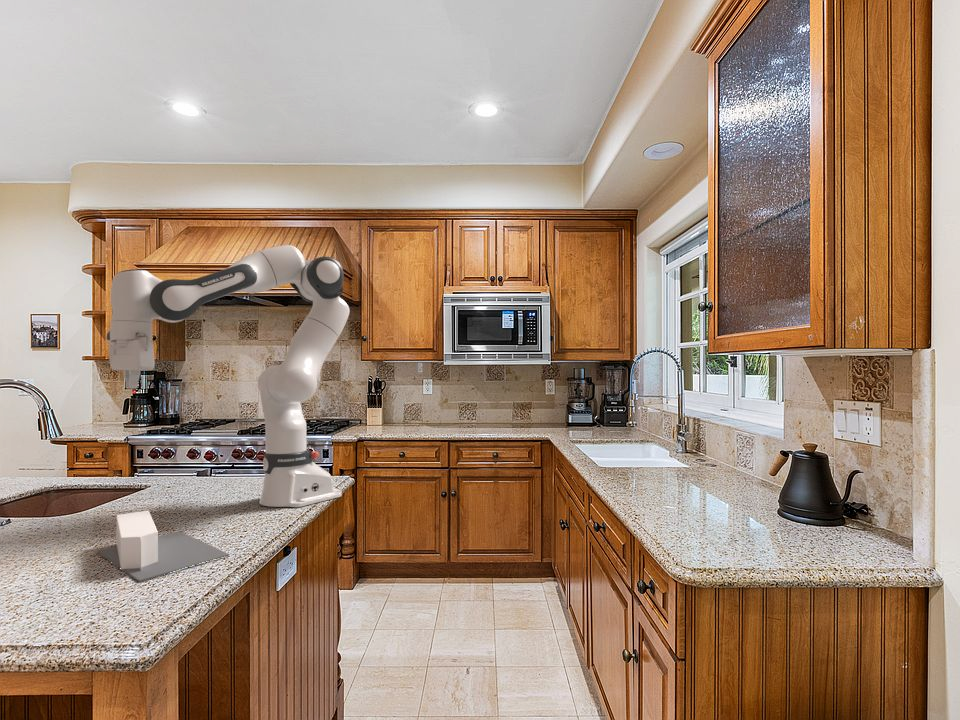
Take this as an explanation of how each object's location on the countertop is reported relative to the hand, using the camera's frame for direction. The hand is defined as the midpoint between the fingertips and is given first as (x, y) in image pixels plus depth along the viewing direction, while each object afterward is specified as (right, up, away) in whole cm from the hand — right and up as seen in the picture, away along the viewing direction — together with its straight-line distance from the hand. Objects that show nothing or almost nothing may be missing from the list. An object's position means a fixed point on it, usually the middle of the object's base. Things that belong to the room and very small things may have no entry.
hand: (131, 388), depth 130 cm
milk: (+11, -30, -16) cm, 35 cm away
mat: (+23, -33, -24) cm, 46 cm away
